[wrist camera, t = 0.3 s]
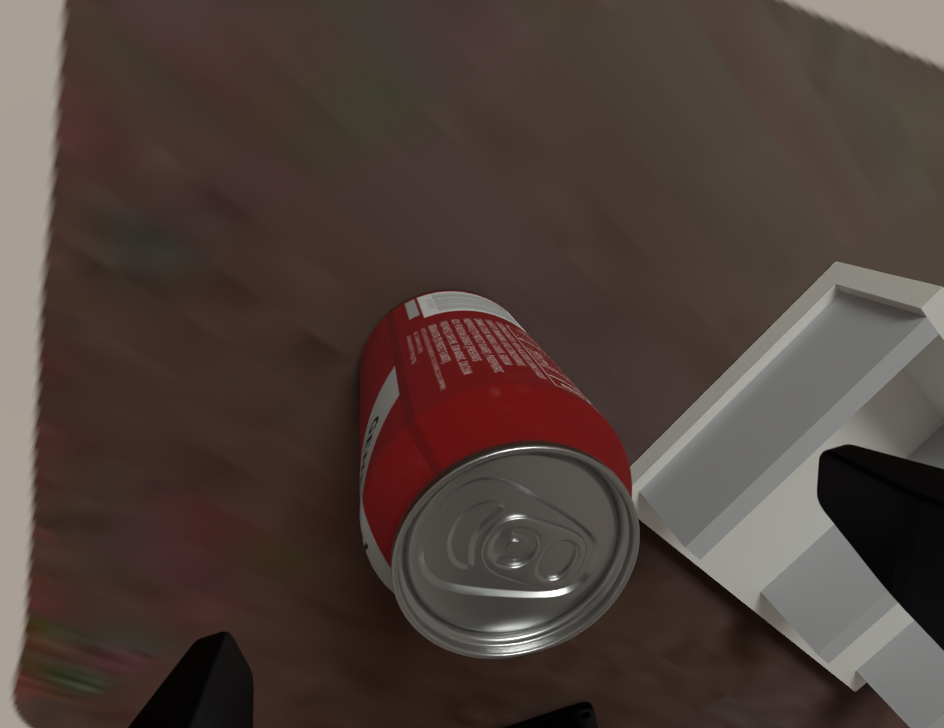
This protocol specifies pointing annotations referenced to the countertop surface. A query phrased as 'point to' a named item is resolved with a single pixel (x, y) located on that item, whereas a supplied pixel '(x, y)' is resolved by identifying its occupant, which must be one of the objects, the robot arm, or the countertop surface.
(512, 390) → the soda can
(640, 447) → the countertop surface
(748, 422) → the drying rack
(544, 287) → the countertop surface
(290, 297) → the countertop surface
